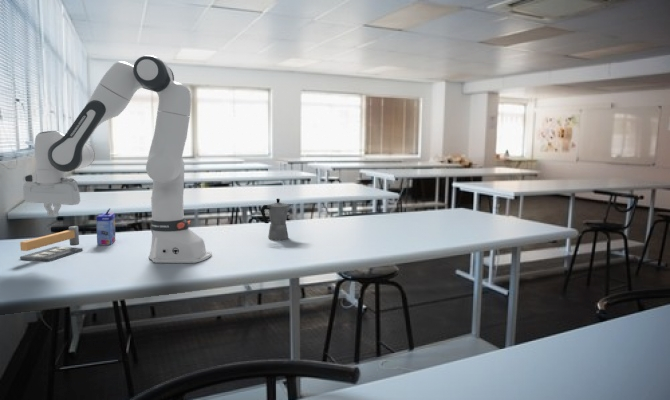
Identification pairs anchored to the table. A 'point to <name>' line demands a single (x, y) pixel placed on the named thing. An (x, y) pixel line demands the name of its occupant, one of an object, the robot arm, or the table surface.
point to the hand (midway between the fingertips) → (53, 216)
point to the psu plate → (51, 253)
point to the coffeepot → (277, 220)
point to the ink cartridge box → (105, 228)
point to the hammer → (52, 239)
